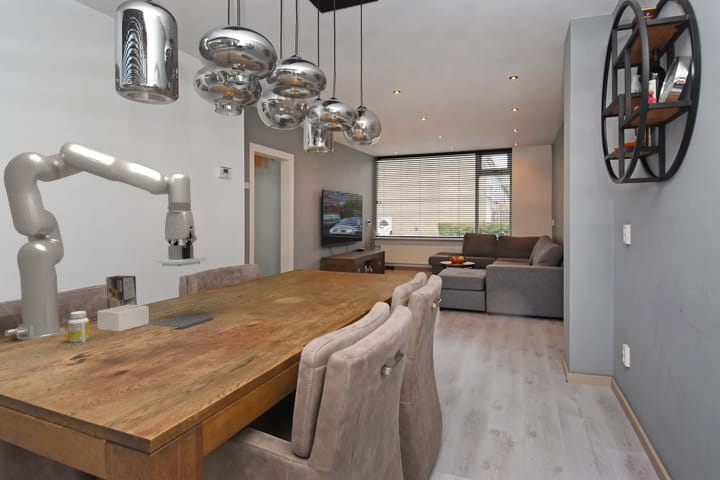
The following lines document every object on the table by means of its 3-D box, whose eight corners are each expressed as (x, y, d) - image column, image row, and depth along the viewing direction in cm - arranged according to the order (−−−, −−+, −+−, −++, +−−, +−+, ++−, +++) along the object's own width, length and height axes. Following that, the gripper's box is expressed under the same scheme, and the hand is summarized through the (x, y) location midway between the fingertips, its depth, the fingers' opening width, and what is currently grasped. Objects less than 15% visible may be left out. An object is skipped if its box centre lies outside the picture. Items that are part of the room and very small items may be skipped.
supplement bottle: (73, 346, 123) (72, 314, 122) (65, 344, 126) (64, 313, 125) (93, 342, 127) (92, 311, 127) (84, 339, 130) (83, 309, 130)
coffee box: (138, 315, 166) (136, 275, 165) (124, 318, 159) (123, 277, 159) (120, 314, 168) (119, 275, 168) (106, 317, 162) (105, 277, 162)
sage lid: (179, 266, 143) (179, 246, 142) (155, 265, 147) (155, 246, 146) (205, 263, 155) (205, 244, 155) (183, 262, 159) (182, 244, 159)
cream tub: (119, 333, 137) (118, 313, 137) (97, 331, 141) (97, 311, 140) (149, 325, 148) (148, 306, 148) (128, 323, 152) (128, 304, 152)
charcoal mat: (181, 329, 142) (181, 326, 142) (150, 326, 147) (150, 323, 147) (213, 319, 157) (213, 316, 157) (184, 316, 162) (184, 314, 162)
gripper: (154, 208, 149) (155, 258, 150) (190, 207, 144) (191, 259, 144) (170, 209, 156) (171, 257, 157) (205, 208, 151) (206, 257, 151)
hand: (181, 257), depth 151 cm, fingers closed on sage lid, 4 cm apart
